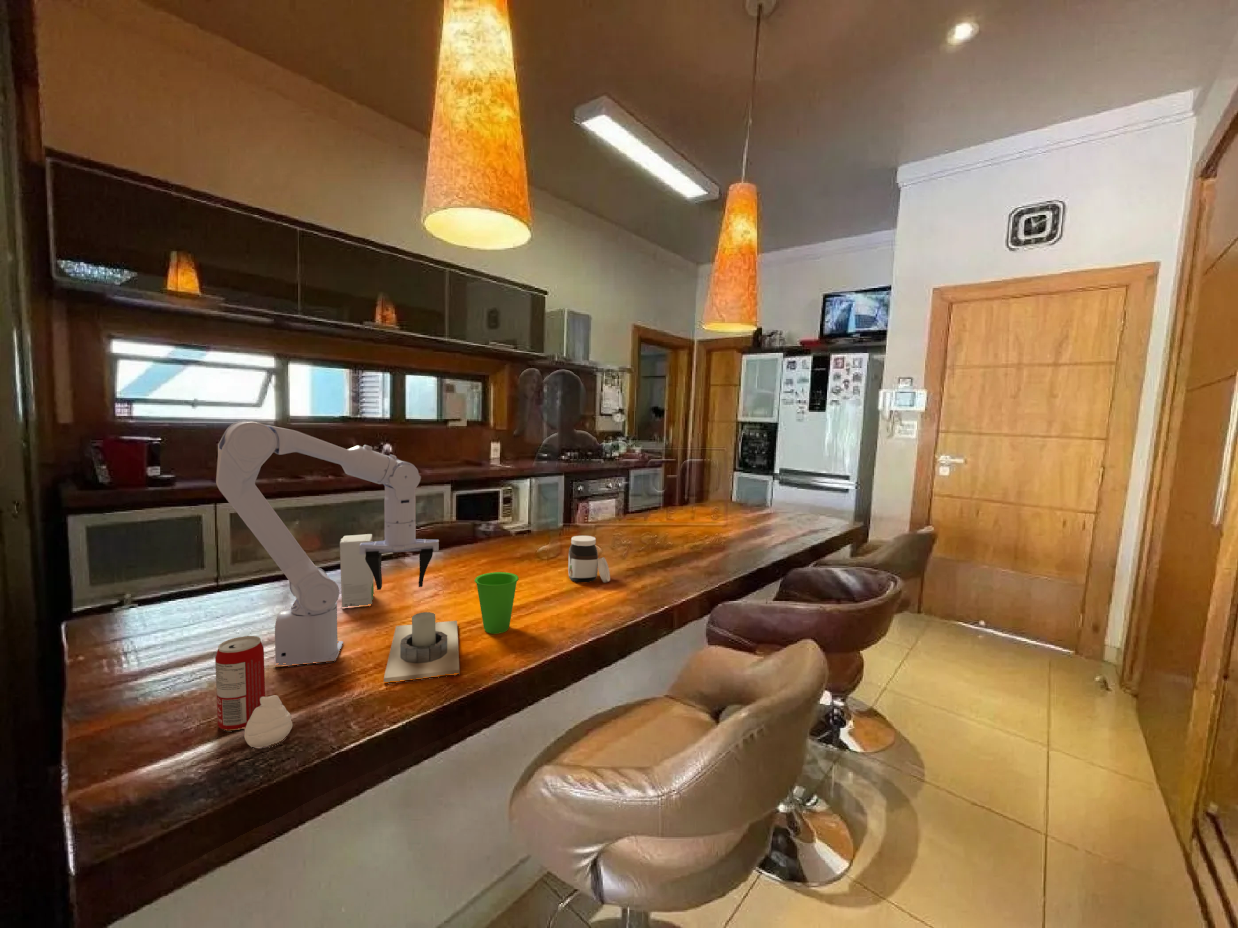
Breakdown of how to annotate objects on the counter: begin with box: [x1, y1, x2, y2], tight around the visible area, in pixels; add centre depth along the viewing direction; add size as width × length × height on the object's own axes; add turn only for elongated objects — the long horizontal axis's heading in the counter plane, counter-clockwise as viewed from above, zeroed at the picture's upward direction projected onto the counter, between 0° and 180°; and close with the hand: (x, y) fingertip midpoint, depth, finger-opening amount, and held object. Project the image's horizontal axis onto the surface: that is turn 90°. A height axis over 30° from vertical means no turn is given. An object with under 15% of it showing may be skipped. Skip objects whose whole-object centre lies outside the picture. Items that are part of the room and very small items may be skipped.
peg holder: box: [383, 620, 460, 683], centre depth 97 cm, size 12×22×4 cm, turn 19°
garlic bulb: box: [244, 694, 293, 748], centre depth 70 cm, size 6×6×5 cm
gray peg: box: [411, 611, 436, 647], centre depth 94 cm, size 4×4×7 cm
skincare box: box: [339, 533, 375, 608], centre depth 120 cm, size 8×7×16 cm
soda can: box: [214, 635, 266, 730], centre depth 73 cm, size 6×6×12 cm
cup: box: [474, 571, 519, 635], centre depth 108 cm, size 9×9×11 cm
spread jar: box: [567, 535, 611, 583], centre depth 143 cm, size 12×11×12 cm
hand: (400, 586), depth 103 cm, fingers open, 7 cm apart
